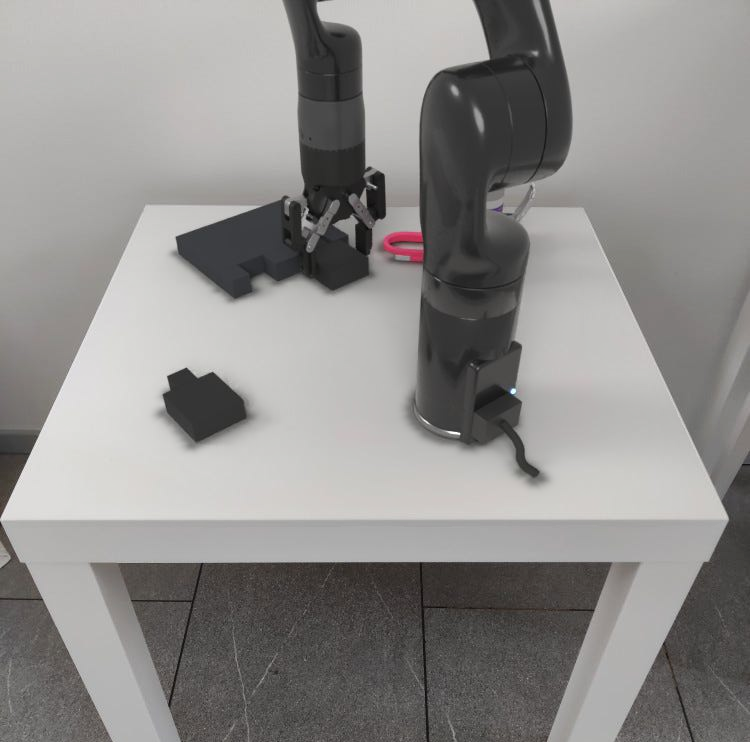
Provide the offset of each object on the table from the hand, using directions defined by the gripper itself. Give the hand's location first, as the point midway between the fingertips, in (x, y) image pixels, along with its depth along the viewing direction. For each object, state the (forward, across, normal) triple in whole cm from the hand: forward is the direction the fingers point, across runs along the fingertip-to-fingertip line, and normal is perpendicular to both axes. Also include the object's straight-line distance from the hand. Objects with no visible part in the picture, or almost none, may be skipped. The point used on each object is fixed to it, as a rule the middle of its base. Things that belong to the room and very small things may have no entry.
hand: (336, 264), depth 98 cm
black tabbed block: (+1, 0, +1) cm, 2 cm away
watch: (+2, +22, -8) cm, 23 cm away
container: (+2, +14, -12) cm, 18 cm away
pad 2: (+1, -28, -13) cm, 30 cm away
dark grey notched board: (+1, -4, +10) cm, 11 cm away
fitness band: (+2, +12, -2) cm, 12 cm away
